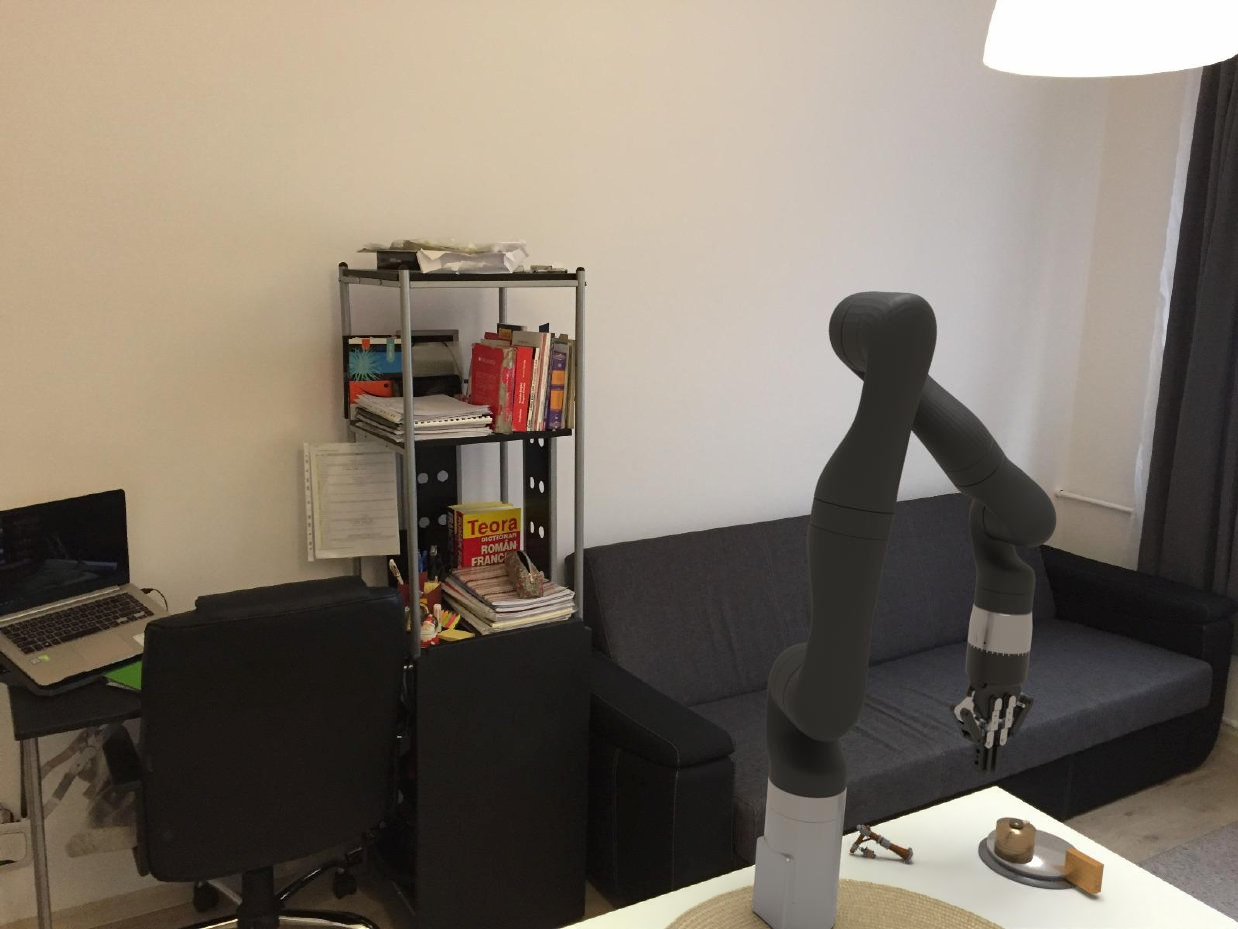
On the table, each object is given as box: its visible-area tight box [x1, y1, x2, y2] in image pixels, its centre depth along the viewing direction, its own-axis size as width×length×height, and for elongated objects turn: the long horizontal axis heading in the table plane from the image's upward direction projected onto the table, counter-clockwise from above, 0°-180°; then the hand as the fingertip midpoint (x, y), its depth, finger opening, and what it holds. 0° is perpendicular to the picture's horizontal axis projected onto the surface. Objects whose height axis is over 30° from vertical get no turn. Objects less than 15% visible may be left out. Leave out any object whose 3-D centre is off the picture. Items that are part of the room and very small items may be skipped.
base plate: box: [977, 836, 1078, 890], centre depth 142 cm, size 14×14×1 cm
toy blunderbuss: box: [849, 823, 914, 865], centre depth 141 cm, size 2×8×4 cm, turn 82°
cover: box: [994, 817, 1037, 864], centre depth 140 cm, size 5×5×5 cm
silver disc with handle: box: [986, 828, 1105, 895], centre depth 140 cm, size 16×12×4 cm
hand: (985, 770), depth 135 cm, fingers closed
